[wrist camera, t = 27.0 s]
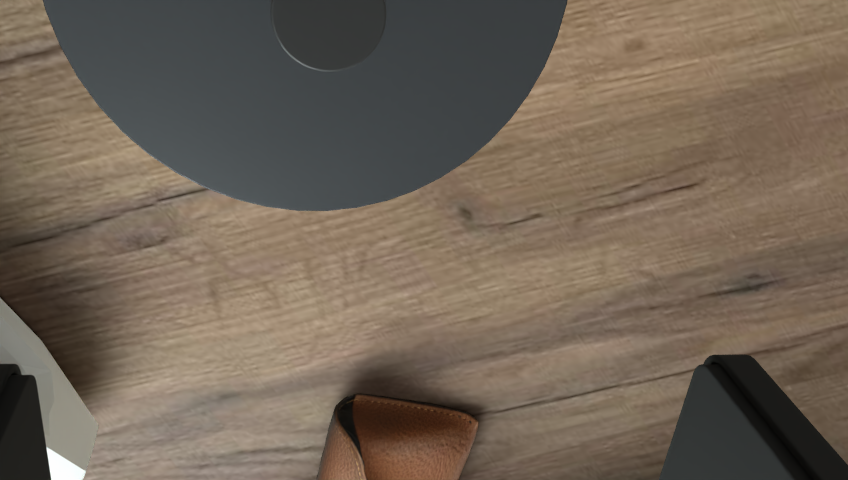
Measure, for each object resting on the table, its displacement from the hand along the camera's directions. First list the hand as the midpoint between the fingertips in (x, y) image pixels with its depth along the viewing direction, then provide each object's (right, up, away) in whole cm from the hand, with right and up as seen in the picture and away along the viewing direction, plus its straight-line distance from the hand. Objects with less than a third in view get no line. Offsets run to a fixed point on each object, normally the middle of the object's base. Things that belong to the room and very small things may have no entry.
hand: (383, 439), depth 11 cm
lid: (-3, +12, +15) cm, 20 cm away
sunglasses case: (-3, -13, +35) cm, 37 cm away
